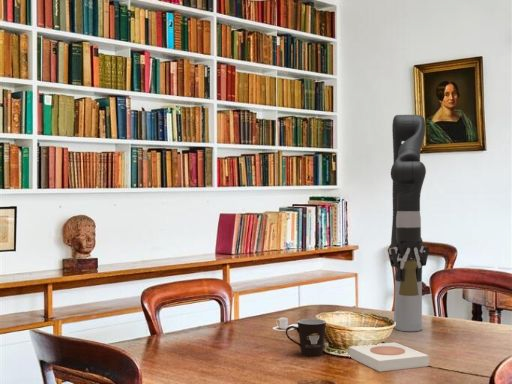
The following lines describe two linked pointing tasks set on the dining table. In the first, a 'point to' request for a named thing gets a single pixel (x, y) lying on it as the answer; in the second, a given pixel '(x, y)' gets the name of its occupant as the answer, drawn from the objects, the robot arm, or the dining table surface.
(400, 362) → the plinth
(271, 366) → the dining table surface
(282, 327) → the teacup and saucer
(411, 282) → the brown pawn
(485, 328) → the dining table surface
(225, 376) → the dining table surface
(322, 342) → the coffee mug
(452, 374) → the dining table surface
